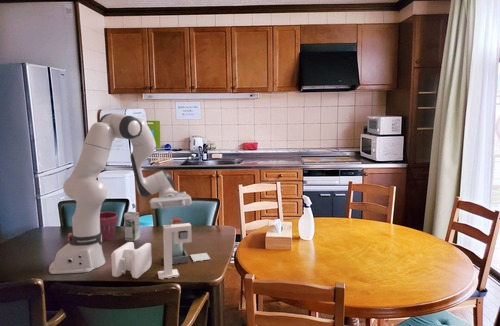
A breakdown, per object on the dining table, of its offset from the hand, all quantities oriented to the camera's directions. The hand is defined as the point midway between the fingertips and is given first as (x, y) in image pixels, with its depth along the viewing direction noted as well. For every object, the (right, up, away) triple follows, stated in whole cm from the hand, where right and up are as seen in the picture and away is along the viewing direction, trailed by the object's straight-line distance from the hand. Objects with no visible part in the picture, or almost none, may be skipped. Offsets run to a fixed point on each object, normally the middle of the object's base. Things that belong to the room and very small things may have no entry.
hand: (172, 206), depth 180 cm
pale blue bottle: (+4, -24, -9) cm, 26 cm away
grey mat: (+14, -24, -6) cm, 28 cm away
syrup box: (-25, -20, +19) cm, 37 cm away
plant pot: (-40, -20, +19) cm, 49 cm away
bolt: (+7, -9, -19) cm, 22 cm away
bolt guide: (+6, -26, -24) cm, 36 cm away
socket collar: (+4, -24, -9) cm, 26 cm away
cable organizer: (-12, -26, -23) cm, 37 cm away
